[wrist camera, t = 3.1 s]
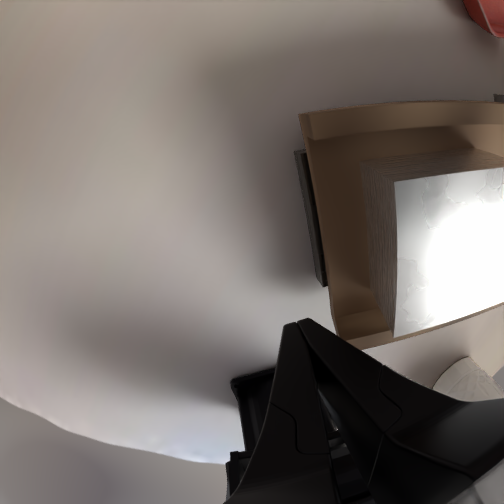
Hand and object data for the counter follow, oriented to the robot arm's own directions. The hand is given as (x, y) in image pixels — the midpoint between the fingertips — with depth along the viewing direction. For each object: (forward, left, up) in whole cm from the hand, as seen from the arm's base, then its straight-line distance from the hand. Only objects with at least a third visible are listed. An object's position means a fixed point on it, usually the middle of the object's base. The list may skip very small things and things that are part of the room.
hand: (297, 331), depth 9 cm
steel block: (+9, 0, -4) cm, 10 cm away
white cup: (+20, -25, -9) cm, 33 cm away
